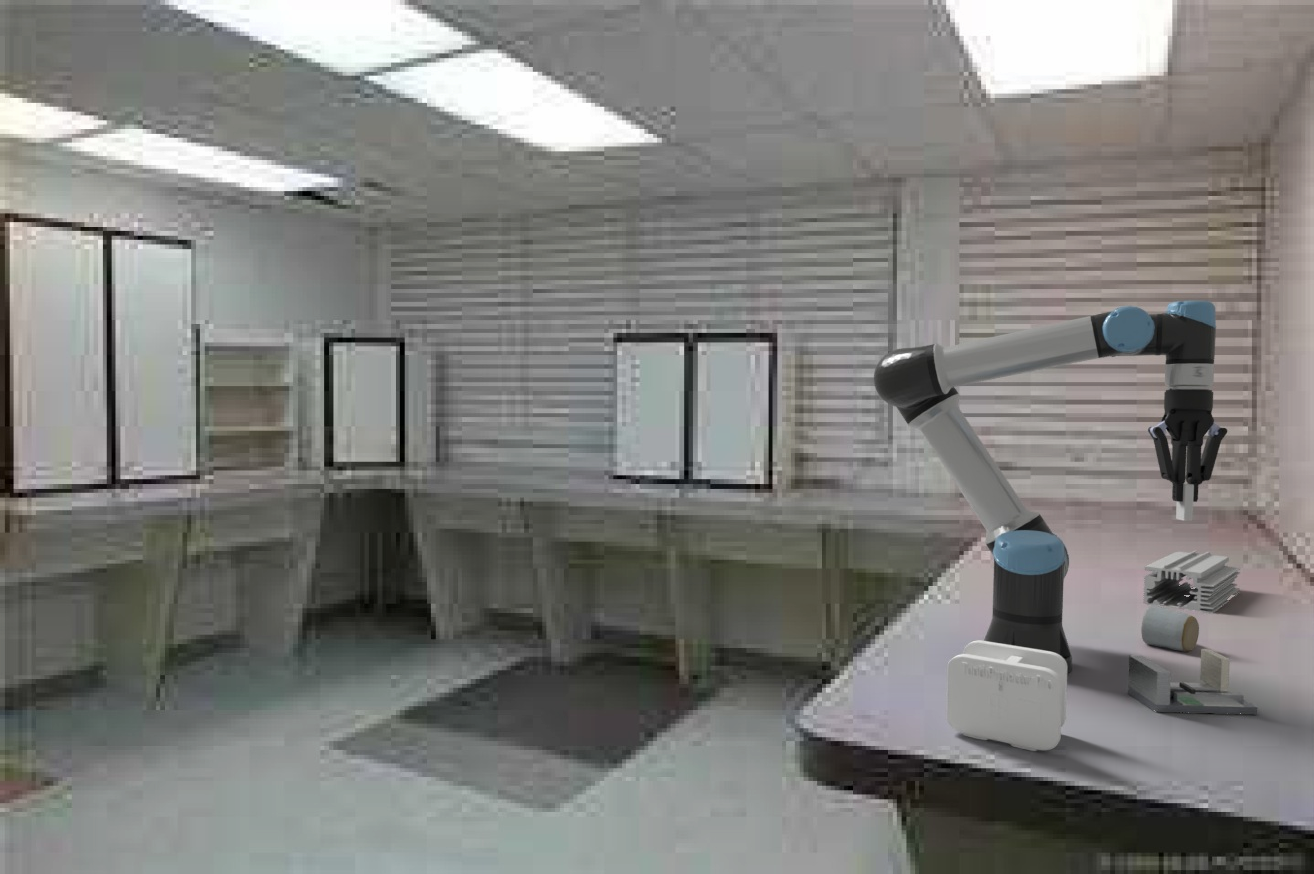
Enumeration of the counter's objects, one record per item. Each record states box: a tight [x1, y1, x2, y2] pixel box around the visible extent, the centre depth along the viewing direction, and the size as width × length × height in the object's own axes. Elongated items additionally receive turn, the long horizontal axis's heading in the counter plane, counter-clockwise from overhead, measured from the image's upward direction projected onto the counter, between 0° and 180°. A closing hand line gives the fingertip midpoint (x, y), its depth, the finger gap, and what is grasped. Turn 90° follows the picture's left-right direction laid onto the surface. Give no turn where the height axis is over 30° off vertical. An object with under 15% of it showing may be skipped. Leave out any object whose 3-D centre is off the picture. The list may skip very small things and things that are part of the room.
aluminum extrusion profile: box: [1143, 549, 1241, 614], centre depth 218 cm, size 14×31×10 cm, turn 137°
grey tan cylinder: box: [1140, 605, 1200, 652], centre depth 174 cm, size 11×8×8 cm
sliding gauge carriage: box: [1170, 648, 1231, 696], centre depth 139 cm, size 8×7×6 cm
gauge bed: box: [1127, 655, 1259, 715], centre depth 140 cm, size 15×9×6 cm, turn 87°
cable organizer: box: [945, 639, 1068, 752], centre depth 126 cm, size 15×11×12 cm
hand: (1184, 519), depth 160 cm, fingers closed
